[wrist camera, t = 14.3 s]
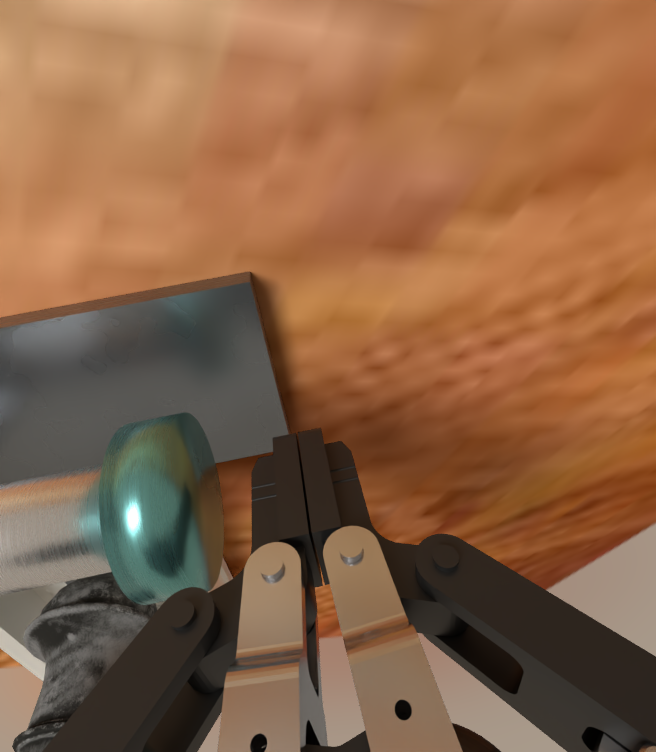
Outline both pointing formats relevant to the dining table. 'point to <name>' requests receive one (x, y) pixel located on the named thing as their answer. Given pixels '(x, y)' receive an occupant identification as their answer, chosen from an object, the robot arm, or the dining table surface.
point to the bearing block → (136, 375)
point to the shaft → (121, 516)
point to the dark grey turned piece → (77, 649)
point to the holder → (17, 610)
